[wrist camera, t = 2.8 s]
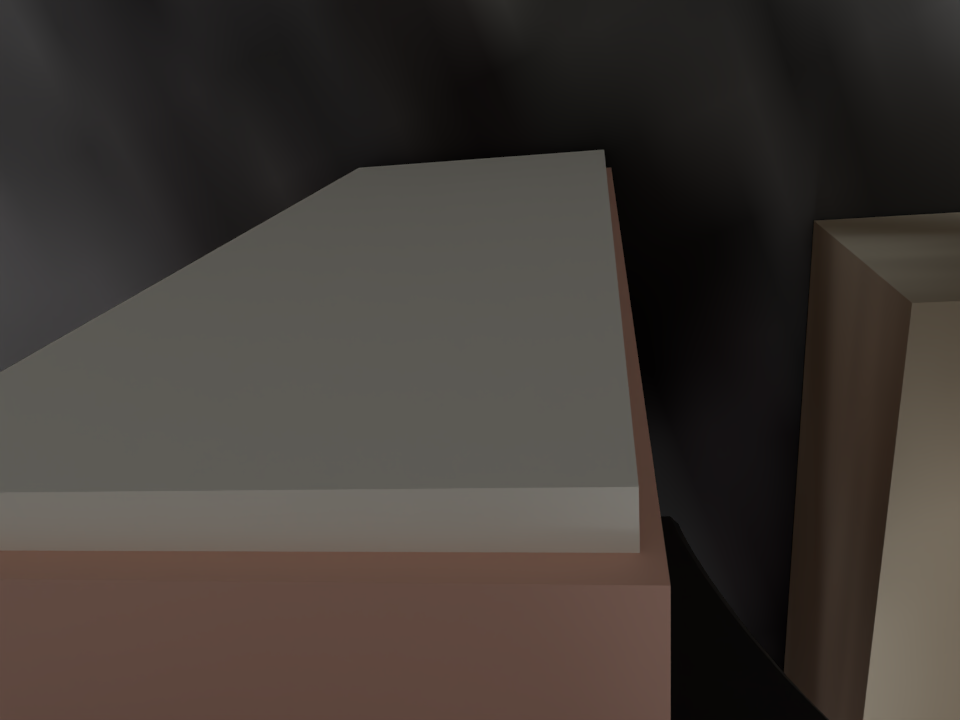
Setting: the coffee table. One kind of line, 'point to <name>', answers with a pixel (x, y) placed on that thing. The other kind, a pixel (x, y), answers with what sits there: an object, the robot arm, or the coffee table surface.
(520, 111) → the coffee table surface
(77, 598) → the book
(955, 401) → the book rack
